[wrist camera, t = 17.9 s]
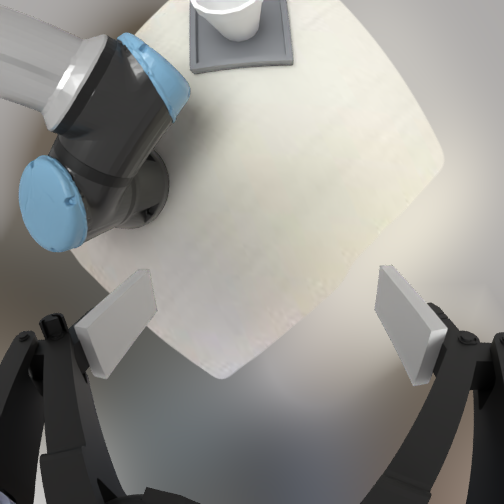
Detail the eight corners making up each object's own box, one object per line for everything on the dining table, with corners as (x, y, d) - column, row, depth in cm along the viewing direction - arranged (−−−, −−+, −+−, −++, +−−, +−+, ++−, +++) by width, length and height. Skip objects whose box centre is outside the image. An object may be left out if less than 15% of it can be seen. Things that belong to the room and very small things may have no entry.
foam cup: (200, 32, 36) (174, -3, 24) (236, -2, 34) (222, -43, 21) (242, 59, 38) (228, 25, 25) (280, 23, 35) (278, -17, 23)
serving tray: (194, 73, 40) (189, 69, 38) (193, 1, 35) (190, -5, 33) (292, 65, 38) (293, 60, 36) (284, -8, 33) (284, -15, 31)
